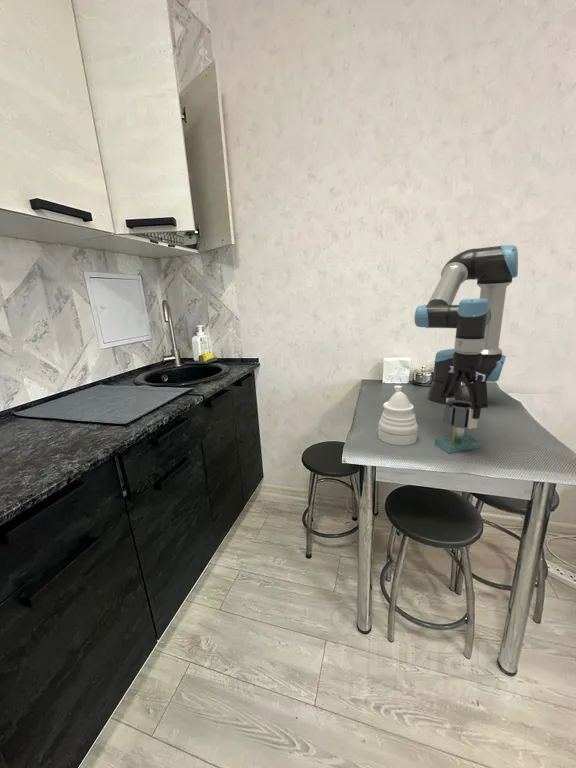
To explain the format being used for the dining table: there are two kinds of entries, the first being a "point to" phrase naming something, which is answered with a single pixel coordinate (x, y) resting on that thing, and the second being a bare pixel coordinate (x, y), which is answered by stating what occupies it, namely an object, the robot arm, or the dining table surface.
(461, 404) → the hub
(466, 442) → the teal two-tone fixture
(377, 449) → the dining table surface
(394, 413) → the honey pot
